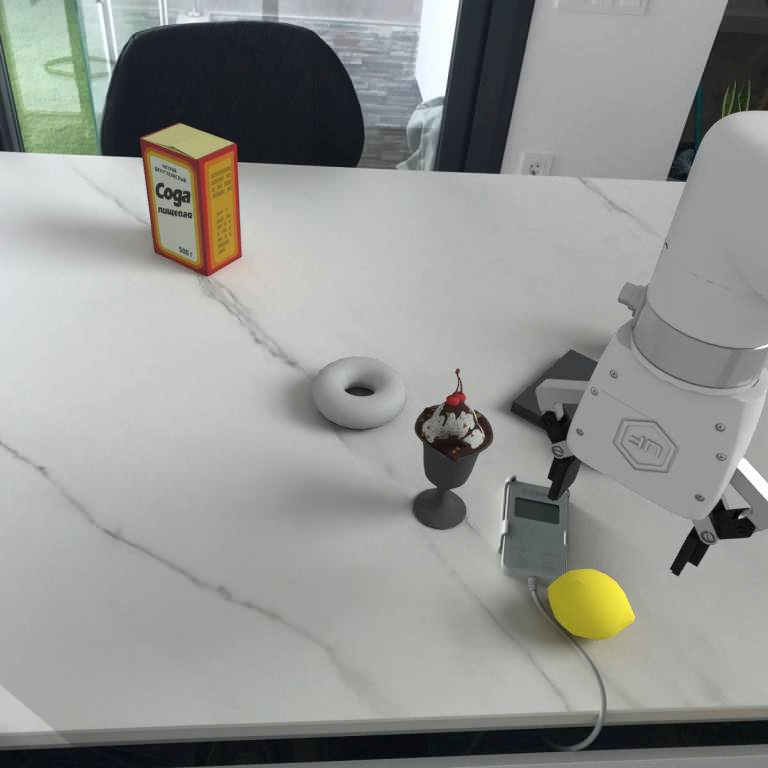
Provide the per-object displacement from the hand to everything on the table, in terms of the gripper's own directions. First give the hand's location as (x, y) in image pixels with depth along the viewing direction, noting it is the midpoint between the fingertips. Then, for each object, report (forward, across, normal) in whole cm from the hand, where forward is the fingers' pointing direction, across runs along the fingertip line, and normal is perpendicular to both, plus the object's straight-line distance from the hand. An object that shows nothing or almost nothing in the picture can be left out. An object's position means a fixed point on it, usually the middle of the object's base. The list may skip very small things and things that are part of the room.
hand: (618, 524), depth 56 cm
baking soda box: (+13, -66, +16) cm, 69 cm away
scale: (+12, -12, +25) cm, 30 cm away
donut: (+13, -30, +8) cm, 34 cm away
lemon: (+12, 0, 0) cm, 12 cm away
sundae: (+12, -16, +2) cm, 20 cm away
